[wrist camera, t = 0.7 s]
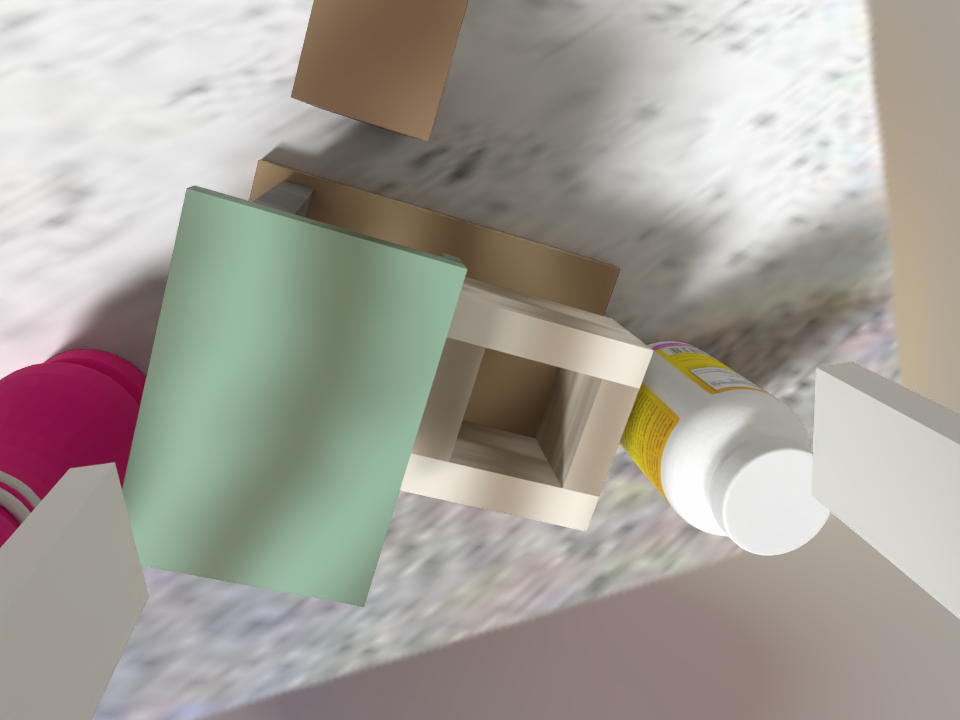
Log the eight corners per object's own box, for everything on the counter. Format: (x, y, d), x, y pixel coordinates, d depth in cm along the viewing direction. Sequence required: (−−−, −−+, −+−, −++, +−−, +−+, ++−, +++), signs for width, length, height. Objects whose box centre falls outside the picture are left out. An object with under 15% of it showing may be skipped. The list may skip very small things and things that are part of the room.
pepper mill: (51, 311, 37) (-278, 507, 18) (195, 381, 39) (35, 624, 20) (-11, 437, 38) (-380, 744, 19) (132, 499, 40) (-76, 834, 21)
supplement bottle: (635, 474, 44) (739, 608, 32) (579, 380, 42) (668, 485, 30) (737, 411, 44) (883, 522, 31) (687, 313, 42) (821, 391, 29)
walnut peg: (320, 108, 36) (290, 97, 22) (342, 19, 35) (326, -54, 21) (403, 135, 37) (428, 141, 23) (427, 48, 36) (468, -2, 22)
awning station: (187, 430, 40) (104, 571, 27) (250, 156, 36) (190, 172, 24) (537, 508, 44) (607, 663, 31) (622, 268, 40) (739, 332, 28)
